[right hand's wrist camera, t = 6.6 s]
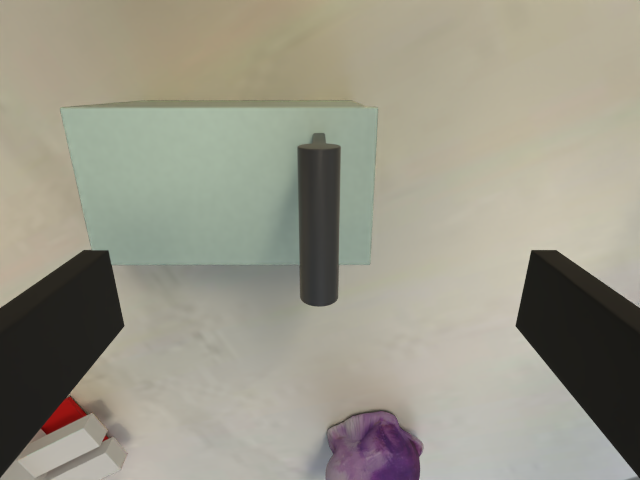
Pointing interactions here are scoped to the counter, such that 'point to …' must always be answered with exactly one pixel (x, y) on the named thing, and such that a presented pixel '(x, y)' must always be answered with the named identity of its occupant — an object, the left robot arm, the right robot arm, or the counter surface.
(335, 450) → the figurine
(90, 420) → the toy
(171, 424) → the counter surface
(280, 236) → the lid
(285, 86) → the counter surface
